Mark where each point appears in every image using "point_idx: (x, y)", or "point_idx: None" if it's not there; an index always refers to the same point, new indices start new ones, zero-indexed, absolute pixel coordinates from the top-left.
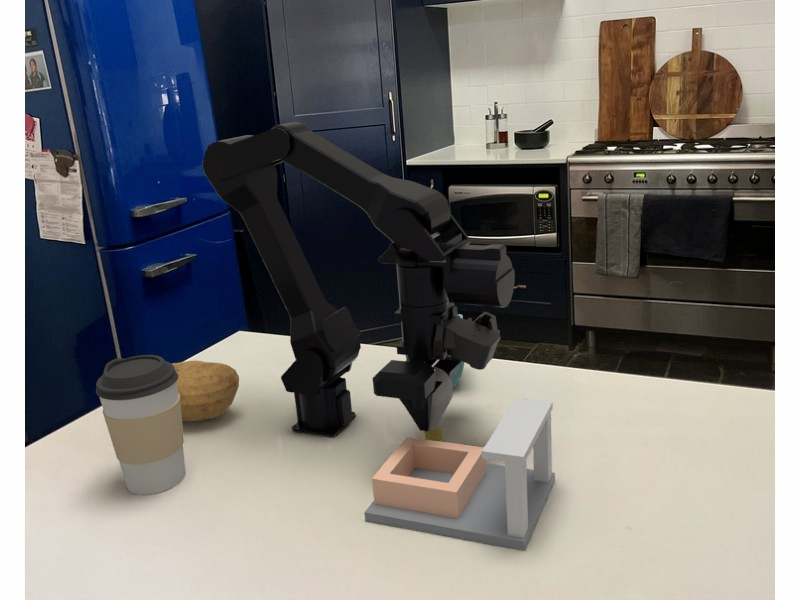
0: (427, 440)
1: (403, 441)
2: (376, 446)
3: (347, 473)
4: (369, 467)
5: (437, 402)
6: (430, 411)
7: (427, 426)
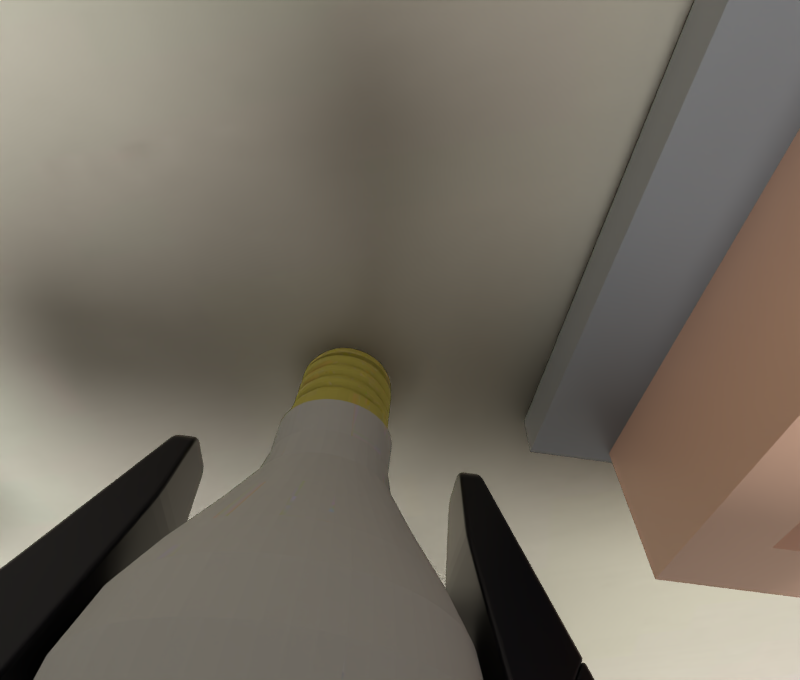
0: (745, 494)
1: (711, 583)
2: (417, 533)
3: (616, 569)
4: (579, 529)
5: (467, 663)
6: (508, 614)
7: (498, 509)
